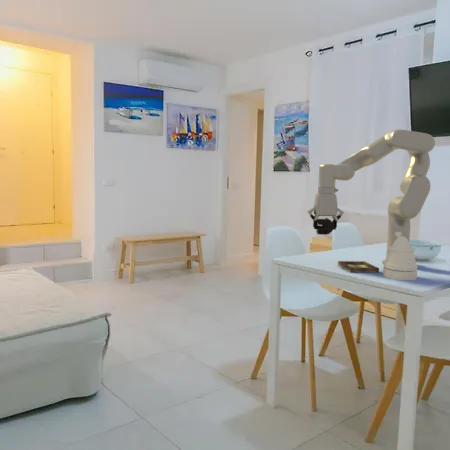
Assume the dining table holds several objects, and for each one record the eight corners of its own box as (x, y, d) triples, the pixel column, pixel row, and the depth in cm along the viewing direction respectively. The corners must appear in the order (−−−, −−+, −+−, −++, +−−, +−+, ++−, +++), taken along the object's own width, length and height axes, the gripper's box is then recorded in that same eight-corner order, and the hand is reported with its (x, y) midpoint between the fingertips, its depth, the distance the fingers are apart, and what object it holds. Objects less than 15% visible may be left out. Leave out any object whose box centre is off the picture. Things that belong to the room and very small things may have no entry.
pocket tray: (364, 265, 203) (364, 261, 203) (378, 272, 188) (379, 268, 188) (337, 264, 202) (338, 261, 202) (350, 272, 187) (350, 268, 187)
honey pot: (376, 275, 183) (379, 231, 181) (394, 272, 190) (397, 230, 188) (404, 281, 172) (407, 235, 170) (423, 278, 180) (426, 234, 178)
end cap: (333, 234, 200) (334, 219, 199) (317, 234, 201) (318, 219, 200) (331, 232, 210) (331, 217, 209) (316, 231, 211) (316, 217, 210)
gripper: (342, 191, 208) (340, 228, 210) (305, 190, 206) (304, 228, 208) (347, 191, 200) (346, 230, 202) (310, 191, 199) (308, 230, 201)
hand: (324, 229), depth 205 cm, fingers closed on end cap, 8 cm apart
